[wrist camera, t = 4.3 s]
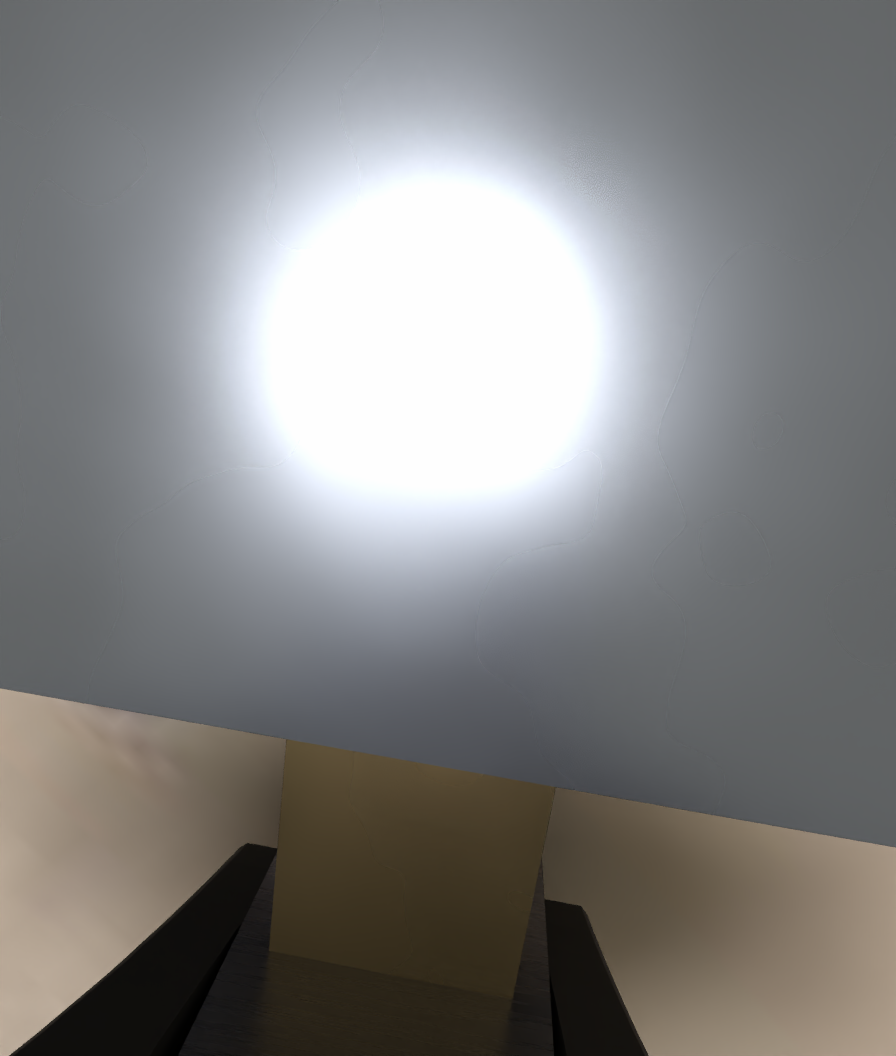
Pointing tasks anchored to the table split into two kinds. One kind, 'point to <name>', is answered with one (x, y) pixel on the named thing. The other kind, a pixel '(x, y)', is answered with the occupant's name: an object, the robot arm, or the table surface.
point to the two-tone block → (390, 918)
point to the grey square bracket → (463, 385)
